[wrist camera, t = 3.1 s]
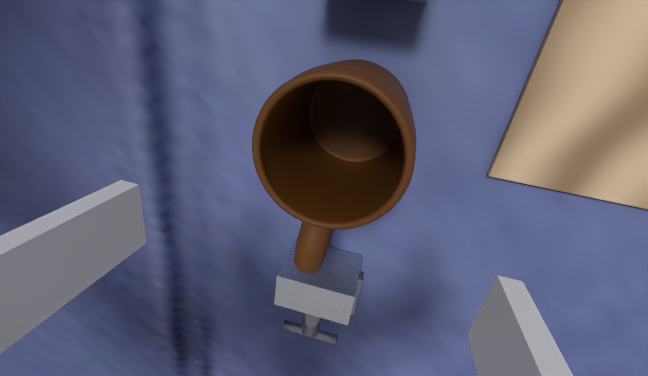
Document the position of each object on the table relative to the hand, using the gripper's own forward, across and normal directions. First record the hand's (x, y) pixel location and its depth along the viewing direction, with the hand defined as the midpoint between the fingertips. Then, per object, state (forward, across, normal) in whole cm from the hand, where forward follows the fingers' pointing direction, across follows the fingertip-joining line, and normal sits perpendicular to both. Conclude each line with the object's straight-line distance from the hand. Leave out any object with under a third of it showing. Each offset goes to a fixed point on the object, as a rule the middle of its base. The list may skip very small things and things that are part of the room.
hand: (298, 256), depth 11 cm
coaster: (+13, +16, +6) cm, 21 cm away
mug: (+13, 0, 0) cm, 13 cm away
